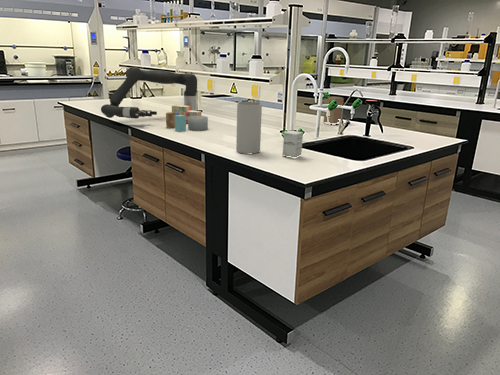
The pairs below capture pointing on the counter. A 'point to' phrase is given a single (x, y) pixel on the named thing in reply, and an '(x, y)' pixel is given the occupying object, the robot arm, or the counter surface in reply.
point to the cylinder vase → (248, 127)
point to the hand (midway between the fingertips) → (154, 114)
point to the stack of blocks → (185, 111)
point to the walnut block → (170, 120)
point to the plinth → (197, 123)
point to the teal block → (180, 123)
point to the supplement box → (292, 143)
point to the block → (336, 112)
